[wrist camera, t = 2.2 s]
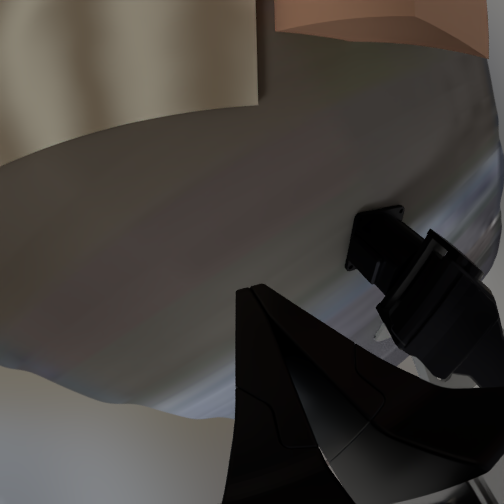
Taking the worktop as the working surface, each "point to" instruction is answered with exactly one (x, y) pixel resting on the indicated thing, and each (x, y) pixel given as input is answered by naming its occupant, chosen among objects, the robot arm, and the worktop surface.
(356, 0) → the terracotta block
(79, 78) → the birch board
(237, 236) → the worktop surface
